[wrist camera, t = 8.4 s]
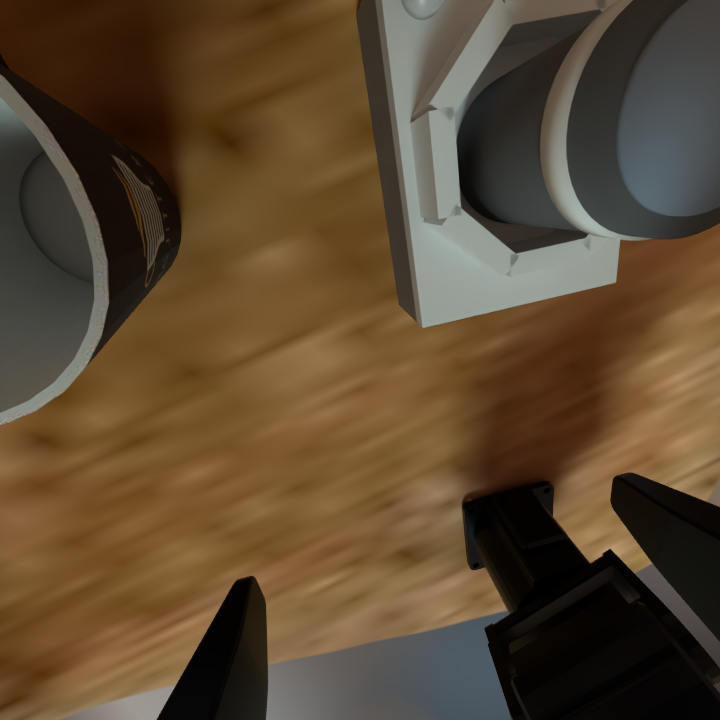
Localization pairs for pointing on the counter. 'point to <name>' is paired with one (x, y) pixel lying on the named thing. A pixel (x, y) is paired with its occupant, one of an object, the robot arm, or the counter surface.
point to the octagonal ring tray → (439, 155)
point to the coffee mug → (69, 242)
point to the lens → (605, 128)
